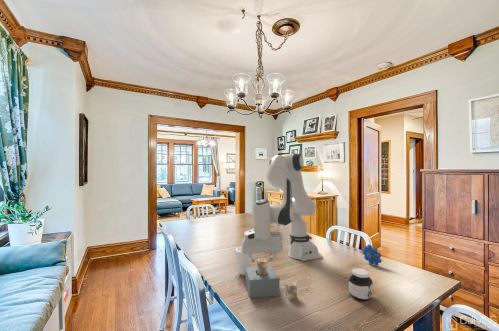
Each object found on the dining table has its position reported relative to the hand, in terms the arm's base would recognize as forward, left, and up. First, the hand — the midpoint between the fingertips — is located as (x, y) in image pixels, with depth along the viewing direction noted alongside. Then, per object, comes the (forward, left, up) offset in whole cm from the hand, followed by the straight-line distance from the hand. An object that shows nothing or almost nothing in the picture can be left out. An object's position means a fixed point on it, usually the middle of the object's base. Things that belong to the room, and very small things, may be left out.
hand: (262, 261), depth 116 cm
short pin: (-12, +9, -14) cm, 20 cm away
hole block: (0, 0, -13) cm, 13 cm away
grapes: (-72, -18, -14) cm, 75 cm away
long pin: (0, 0, -14) cm, 14 cm away
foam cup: (+6, -20, -14) cm, 25 cm away
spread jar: (-44, +12, -14) cm, 47 cm away
